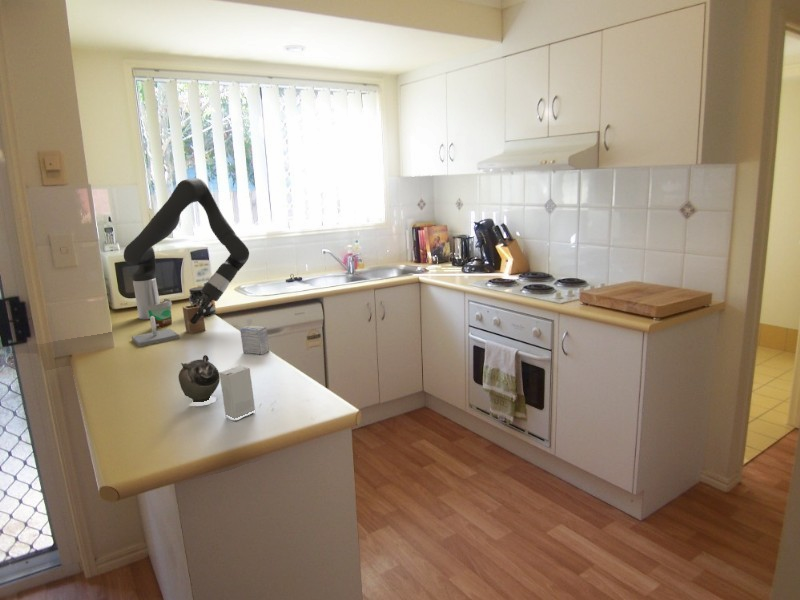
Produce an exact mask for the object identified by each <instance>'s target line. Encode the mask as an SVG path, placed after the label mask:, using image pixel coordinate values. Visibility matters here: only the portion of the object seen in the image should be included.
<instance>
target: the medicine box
mask: <svg viewBox="0 0 800 600" xmlns="http://www.w3.org/2000/svg"><path fill="white" fill-rule="evenodd" d="M239 329H240V330H239V331H240V338H241V346H242V352H247V353H246V354H250V353H257V354H256V355H259V354H262V355H264V354H266V353H268V352H270V344H269V336H268V329H267V327H266V326H260V325H245V326H243V327H242V328H239ZM267 351H268V352H267Z"/></svg>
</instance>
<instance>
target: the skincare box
mask: <svg viewBox="0 0 800 600" xmlns="http://www.w3.org/2000/svg"><path fill="white" fill-rule="evenodd" d="M219 375H220V381H219V382H220V386H221V393H222V400H223V406H224V407H223V408H224V414H225V416H226V415H228V416H230V417H232V418H234V419H235V418H238V417H240V416H243V415H245V414H248V413H249V412H252V411H254V410H255V411H256V407H255V399H254V392H253V391H254V390H253V383H252V378H251V377H252V376H251V369H250V367H248V366H244V365H237V366H235V367H231V368H229V369H226V370H223V371H220V372H219Z"/></svg>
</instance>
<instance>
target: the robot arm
mask: <svg viewBox="0 0 800 600" xmlns="http://www.w3.org/2000/svg"><path fill="white" fill-rule="evenodd" d="M197 202H198V203H199V204H200V206H201V207H202V208H203V210H204V211H205V213H206V217H207V219H208V224H209V227H210V229H211V232H213V234H214V235H215V237H216V239H217V240H218V241H219V243H220V244H222V246H224V247H225V248H226V249H227V252H228V253H229V256H228V257H227V258H226V260H225V261H224V262H222V263H221V264H220V266H219V267H218V268H217V269H216V271H215V272H214V273H213V274H212V275H211V276H210V278H209V279H208V280H207V281H206V283H205V284H204V285H203V286H204V287H203V288H202V289H201V292H202V293H203V295H202V296H201V297H199V296H198V297H197V298H196V299H195V301H194V302H193V304H192V305H194V306H195V307H196V305H199V306H198V308H199V309H198V311H197V312H196V314H195V315H194V316H193V318H192V319H191V320H190V322H191V323H193V324H196V322H197V321H198V320H199V318H200V317H202V316H205V315H206V314H207V312H208V311H209V310H210V309H211V308H212V306H213V305H214V304H213V303H212V301H213V300H214V301H215V302H218V301H219V299H220V298H221V297H222V296H223V294H224V293H225V291H226V290H227V289H228V287H229V285H230V283H232V281H233V280H234V278H235V277H236V275H237V273H238V272H239V271H240V270H241V269H242V268H243V267H244V265H245V264H246V263H247V261H248V260H249V257H250V251H249V248H248V246H247V245H246V244H245V243H244V241H242V240H241V238H240V237H239V236H238V235H237V234H236V232H235V231H234V228H232V226H231V225H230V224H229V222H228V221H227V220H226V218H225V217H224V215H223V214H222V212H221V209H220V208H219V205H218V204H217V202H216V200H215V198H214V196H213V195H212V193H211V190H210V189H209V187H208V185H207V183H206V182H205V181H204V180H203V179H201V178H197V177H195V178H188V179H187V178H186V179H183V180H181V181H179V182H178V184H177V185H176V186H175V188H174V190H173V191H172V193H171V194H170V196H169V198H168V199H167V201H166V202H165V203H164V204H162V206H161V208H160V209H159V210H158V211H157V212H156V213H155V214H154V215H153V216H152V218H151V220H149V222H148V224H147V225H146V226H145V227H144V228H143V229H142V231H141V232H140V233H139V234H137V236H136V237H135V238H134V239H132V240H131V242H130V243H128V244H127V246H125V248H124V251H123V259H124V261H125V263H126V264H127V265H131V266H138V268H137V269H136V271H134V272H133V273H132V275H131V277H132V285H133V290H134V296H135V301H136V307H137V308H136V309H137V314H138V319H139V320H150V317H149V312H148V310H147V305H154V304H156V303H160V302H161V301H160V296H159V291H158V290H159V289H158V284H157V278H156V273H157V263H156V255H155V250H154V246H155V245H157V244H159V243H160V242H162V241H163V240H165V239H166V238H167V237H169V236H170V235H171V234H172V233H173V231H174V230H175V229H176V228H177V226H178V225H179V223H180V217H181V214H182V212H184V210H185V209H187V207H189V205H191V204H192V203H193V204H194V203H197ZM201 306H202V307H201ZM202 311H203V312H202ZM204 312H205V313H204ZM205 317H206V316H205Z"/></svg>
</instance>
